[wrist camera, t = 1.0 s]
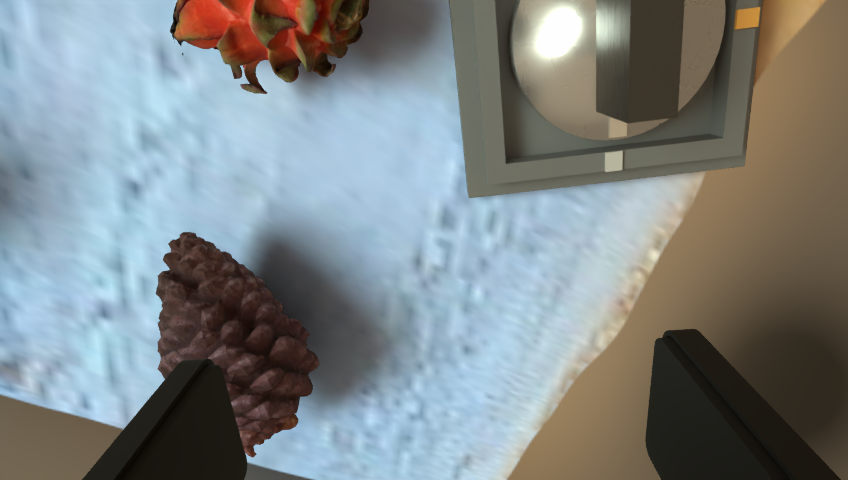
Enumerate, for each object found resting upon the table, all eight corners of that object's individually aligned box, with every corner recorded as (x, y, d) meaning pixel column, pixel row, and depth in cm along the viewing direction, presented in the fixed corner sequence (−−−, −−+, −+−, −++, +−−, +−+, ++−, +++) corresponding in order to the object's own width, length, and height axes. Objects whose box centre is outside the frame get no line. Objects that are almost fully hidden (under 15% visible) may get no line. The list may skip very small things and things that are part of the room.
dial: (501, -61, 27) (523, -96, 21) (714, -93, 27) (806, -139, 20) (514, 145, 31) (535, 170, 25) (698, 123, 31) (770, 142, 24)
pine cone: (158, 221, 36) (60, 282, 26) (288, 196, 35) (236, 250, 25) (237, 413, 42) (181, 517, 32) (349, 396, 41) (325, 498, 32)
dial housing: (438, -111, 28) (439, -131, 25) (764, -161, 27) (807, -189, 24) (467, 192, 34) (471, 206, 31) (731, 161, 33) (761, 172, 30)
